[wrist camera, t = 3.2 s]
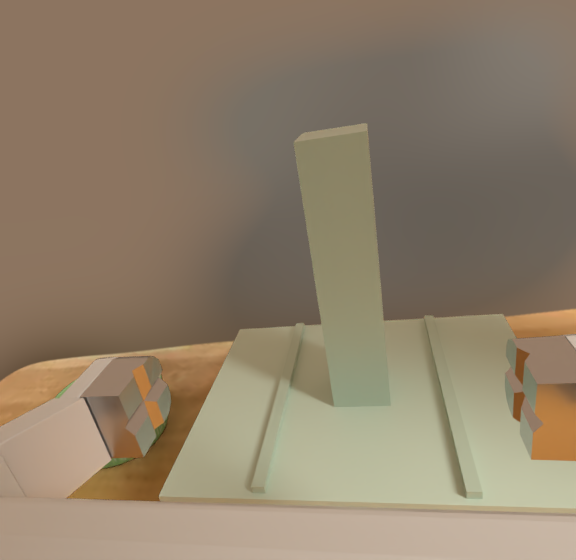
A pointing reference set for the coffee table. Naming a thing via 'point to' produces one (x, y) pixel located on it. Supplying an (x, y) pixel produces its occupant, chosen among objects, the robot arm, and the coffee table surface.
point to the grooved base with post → (363, 386)
